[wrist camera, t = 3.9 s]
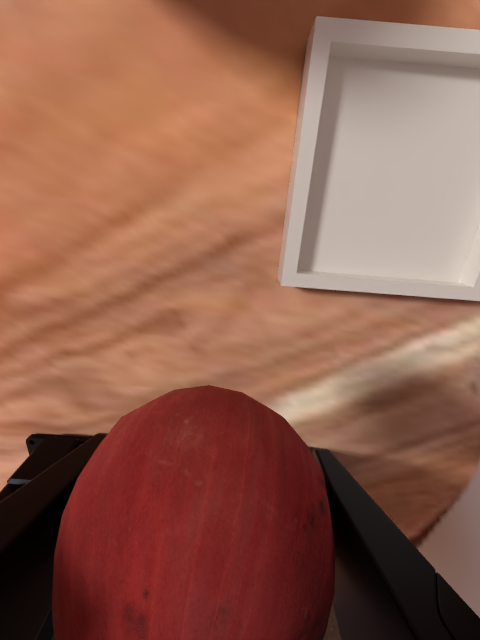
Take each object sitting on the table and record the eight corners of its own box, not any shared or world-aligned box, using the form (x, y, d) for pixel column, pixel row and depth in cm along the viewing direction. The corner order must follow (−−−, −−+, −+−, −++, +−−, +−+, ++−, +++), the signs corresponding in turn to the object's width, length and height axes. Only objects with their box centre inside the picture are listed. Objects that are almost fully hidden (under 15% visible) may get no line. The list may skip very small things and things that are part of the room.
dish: (457, 292, 18) (481, 301, 16) (277, 278, 18) (281, 285, 16) (543, 62, 14) (589, 39, 12) (306, 42, 14) (316, 15, 12)
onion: (322, 359, 9) (667, 1019, 2) (274, 480, 11) (331, 1017, 4) (147, 319, 9) (-438, 951, 1) (130, 452, 11) (-128, 989, 3)
